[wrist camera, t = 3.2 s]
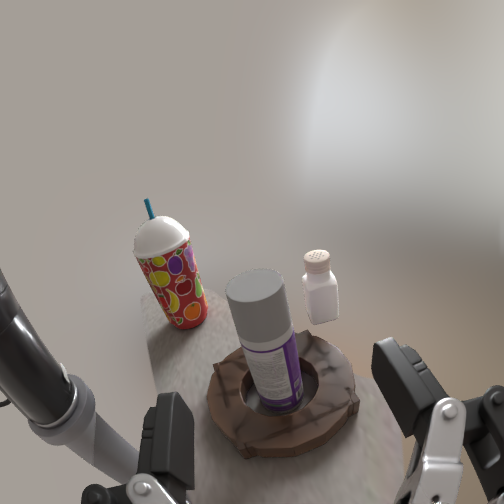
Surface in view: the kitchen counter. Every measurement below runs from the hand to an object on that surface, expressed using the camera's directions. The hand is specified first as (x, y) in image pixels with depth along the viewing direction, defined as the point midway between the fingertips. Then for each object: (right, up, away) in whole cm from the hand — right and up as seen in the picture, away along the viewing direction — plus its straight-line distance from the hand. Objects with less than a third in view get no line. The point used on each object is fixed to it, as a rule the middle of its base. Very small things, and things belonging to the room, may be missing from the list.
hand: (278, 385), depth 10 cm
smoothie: (-11, -6, +34) cm, 36 cm away
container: (+2, -10, +18) cm, 21 cm away
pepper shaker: (+9, -4, +28) cm, 30 cm away
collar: (+2, -10, +17) cm, 20 cm away
